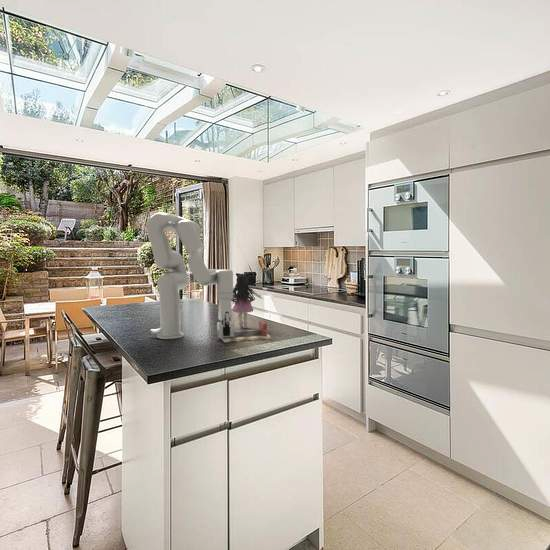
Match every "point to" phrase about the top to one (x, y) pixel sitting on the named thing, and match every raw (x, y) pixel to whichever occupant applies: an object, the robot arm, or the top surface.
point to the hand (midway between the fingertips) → (225, 333)
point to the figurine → (243, 298)
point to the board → (249, 334)
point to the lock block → (220, 329)
